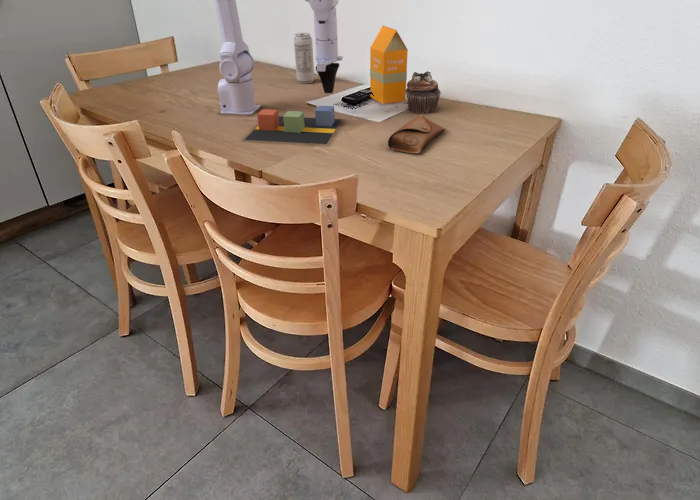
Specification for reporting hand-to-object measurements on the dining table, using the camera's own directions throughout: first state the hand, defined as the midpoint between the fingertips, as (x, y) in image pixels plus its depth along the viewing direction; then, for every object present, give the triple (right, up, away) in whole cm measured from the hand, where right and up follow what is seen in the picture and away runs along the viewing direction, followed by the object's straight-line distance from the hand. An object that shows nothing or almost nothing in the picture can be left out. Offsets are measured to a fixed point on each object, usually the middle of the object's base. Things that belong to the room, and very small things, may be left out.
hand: (328, 92), depth 133 cm
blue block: (-1, -9, -2) cm, 9 cm away
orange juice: (+17, +3, +16) cm, 24 cm away
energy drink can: (-9, +14, +34) cm, 38 cm away
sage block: (-9, -11, -5) cm, 15 cm away
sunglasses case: (+22, -16, -12) cm, 30 cm away
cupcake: (+26, -2, +8) cm, 28 cm away
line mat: (-9, -11, -5) cm, 15 cm away
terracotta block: (-15, -10, -4) cm, 19 cm away
